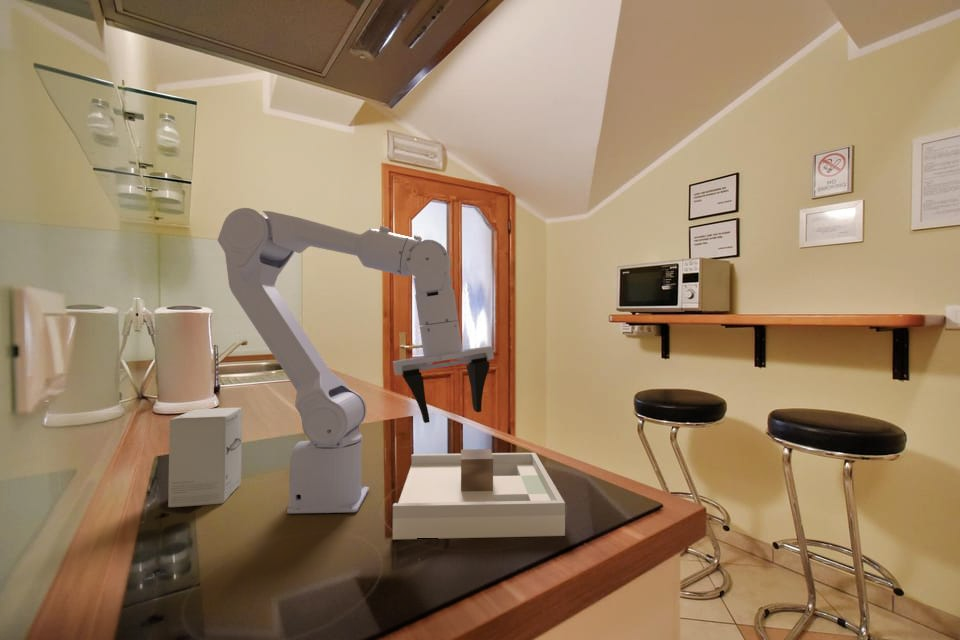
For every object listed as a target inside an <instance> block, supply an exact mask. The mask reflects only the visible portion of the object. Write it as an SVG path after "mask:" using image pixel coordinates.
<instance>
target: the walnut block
mask: <svg viewBox="0 0 960 640" xmlns="http://www.w3.org/2000/svg"><path fill="white" fill-rule="evenodd" d="M492 453H493V452H492V450H491V448H490V449H488V448H486V449H485V448H484V449H483V448H482V449H460V454H461V492H463V491H493V456H492Z"/></svg>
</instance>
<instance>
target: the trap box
mask: <svg viewBox="0 0 960 640" xmlns="http://www.w3.org/2000/svg"><path fill="white" fill-rule="evenodd" d="M492 456H493V491H463V492H461V453H418V454H417V453H413V454H411V465H410V468H409V470H408V474H407V476H406V480H405V483H404V485H403V488H402V490H401V493H400V497H399V499H398V502H395V503H393V504H392V540H418V539H417V538H438V539H471V538H472V539H473V538H478V539H479V538H484V539H485V538H517V537H518V538H520V537H525V538H526V537H563V536H564V537H565V536H566V502H565V500H564V499H563V497H562V496H561V494H560V492H559V490H558V488H557V487H556V485H555V483H554V482H553V480H552V478H551V477H550V475H549V474H548V471H547V470H546V468H545V467H544V465H543V463H542V462H541V460H540V458H539V456H538V455H537V453H536V452H492Z"/></svg>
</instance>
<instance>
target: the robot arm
mask: <svg viewBox="0 0 960 640" xmlns="http://www.w3.org/2000/svg"><path fill="white" fill-rule="evenodd" d="M262 212H263V213H264V214H265V215H263V214H262V213H261V212H259V211H258V210H256V209H253V208H251V207H241V208H237V209H234V210H233V211H232V212H230V213H229V214H228V215H227V216H226V217H225V220H224V221H223V224H222V227H221V229H220V232H219V235H218V237H217V242H218V243H219V246H220V247H221V249H222V250H223V252H224V255H225V263H226V270H227V271H226V272H227V277H228V278H227V279H228V286H229V289H230V291H231V293H232V295H233V296H234V298H235V299H236V301H237V302H238V304H239V305H240V307H241V308H242V310H243V312H244V313H245V314H246V316H247V317H248V319H249V320H250V322H251V323H252V325H253V326H254V328H255V329H256V331H257V333H258V334H259V335H260V337H261V338H262V340H263V341H264V343H265V345H266V346H267V348H268V350H269V351H270V352H271V354H272V356H273V357H274V358H275V360H276V362H277V363H278V365H279V366H280V367H281V369H282V371H283V372H284V374H285V375H286V376H287V378H288V380H289V381H290V382H291V384H292V386H293V387H294V389H295V390H296V395H295V403H294V406H295V409H296V411H297V412H298V413H299V416H300V418H301V419H300V420H301V424H302V426H301V427H302V431H303V433H304V435H305V436H306V438H307V439H308V440H302V441H301V440H300V441H298V442H297V443H296V444H295V446H294V447H293V449H292V450H291V451H292V452H291V455H290V460H289V479H288V482H289V485H288V486H289V491H288V493H289V495H288V497H289V500H288V501H289V503H288V508H287V509H286V513H287V514H329V513H330V514H331V513H335V514H337V513H339V514H340V513H357V512H358V510H359V509H360V507H361V506H362V503H363V502H364V500H365V498H366V496H367V495H368V492H369V490H370V487H369V486H363V485H362V481H363V480H362V478H363V477H362V476H363V475H362V473H363V472H362V470H363V469H362V467H363V465H362V464H363V463H362V461H363V459H362V457H363V456H362V455H363V452H362V451H363V442H362V441H363V436H362V432H361V431H360V426H361V424H362V423H363V422H364V421H365V418H366V415H367V404H366V402H365V399H364V398H363V397H362V396H361V394H359V393H358V392H357V391H354V390H353V389H351V388H350V387H349V386H348V385H347V384H346V382H345V381H344V380H343V379H342V378H341V377H340V376H338V375H336V374H335V373H333V372H332V371H331V369H330V368H329V367H328V364H326V362H325V360H324V359H323V358H322V356H321V355H320V353H319V352H318V350H317V348H316V347H315V345H314V343H312V341H311V339H310V338H309V336H308V335H307V333H306V331H305V330H304V329H303V327H302V326H301V325H300V323H299V322H298V319H297V318H296V317H295V315H294V314H293V312H292V311H291V309H290V307H289V306H288V304H287V303H286V302H285V300H284V299H283V297H282V295H281V294H280V292H279V291H278V289H277V288H276V282H277V278H278V276H279V275H280V274H281V273H282V271H283V269H284V268H285V267H286V265H287V264H288V263H289V262H290V259H291V258H292V257H293V255H294V254H295V253H298V254H302V253H303V252H304V251H306V250H307V249H308V248H310V247H313V248H317V249H321V250H326V251H327V250H328V251H332V252H338V253H341V254H346V255H347V254H348V255H352V256H356V257H357V258H358V260H359V261H360V263H361V264H362V266H364V268H368V269H372V270H373V269H374V270H377V271H382V272H386V273H390V274H392V275H393V274H394V275H399V276H401V277H408V276H411V275H412V276H414V278H413V281H414V282H413V283H414V288H415V296H414V297H415V304H416V310H417V316H418V324H419V325H418V326H419V332H420V339H421V345H422V353H423V355H421V356H417V357H410V358H406V359H405V358H404V359H399V360H393V361H392V363H393V366H392V367H393V372H394V373H393V374H394V375H395V376H400V375H402V376H401V377H402V378H403V379H404V381H405V383H406V384H407V386H408V387H409V390H410V391H411V393H412V395H413V396H414V399H415V401H416V402H417V406H418V409H419V411H420V413H421V416H422V421H423V423H424V424H427V423H430V414H429V409H428V405H427V400H426V394H425V385H424V383H425V382H424V376H423V375H422V372H421V371H427V370H433V369H438V368H439V369H440V368H445V367H450V366H456V365H462V364H465V365H466V370H467V375H468V379H469V384H470V391H471V392H470V393H471V401H472V402H471V403H472V408H473V411H474V412H476V413H481V412H482V406H483V405H482V401H483V393H484V388H485V382H486V380H487V376H488V373H489V370H490V365H491V364H490V360H494V359H495V356H494V349H493V346H492V345H486V346H482V347H481V346H479V347H474V348H473V347H472V348H465V349H463V344H462V337H461V331H460V322H459V317H458V310H457V309H458V308H457V301H456V296H455V295H456V294H455V290H454V289H453V279H452V276H451V274H450V271H451V268H452V261H451V258H450V256H449V254H448V252H447V250H446V248H445V247H444V245H443V244H441V243H440V242H438V241H436V240H433V239H423V238H422V237H421V236H420V235H416V234H415V235H413V237H410V236H407V235H406V236H405V235H402V234H398V233H393V232H391V229H390V228H389V227H387V226H383V225H381V226H380V227H379V229H377V228H370V229H368V230H366V231H365V232H363V233H357V232H356V233H355V232H352V231H349V230H345V229H341V228H339V227H334V226H331V225H327V224H324V223H320V222H317V221H313V220H309V219H305V218H302V217H297V216H293V215H289V214H285V213H281V212H280V213H279V212H276V211H275V212H274V211H268V210H262ZM422 239H423V240H422ZM454 359H455V361H454ZM448 360H449V361H448ZM450 360H453V361H450ZM488 360H489V361H488ZM442 361H443V362H442ZM444 361H448V362H444ZM434 362H435V363H436V362H442V363H437V364H433V363H434Z"/></svg>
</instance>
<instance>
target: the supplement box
mask: <svg viewBox="0 0 960 640" xmlns="http://www.w3.org/2000/svg"><path fill="white" fill-rule="evenodd" d="M242 418H243V407H217V408H215V407H213V408H199V409H192V410H191V409H190V411H187V412H185V413H183V414H180V415H178V416H175V417H173V418H170V419H169V440H168V441H169V442H168V443H169V447H168V451H169V452H168V491H167V493H168V496H167V497H168V498H167V499H168V500H167V502H168V504H167V508H182V507H194V506H196V507H197V506H207V505H220V504H224V503H225V502H226V500H227V499H228V498H229V497H230V496H231V495H232V493H234V491H235V490H237V488H239V487H240V486H241V484H242V450H243V449H242V446H243V445H242V444H243V443H242V440H243V439H242V438H243V437H242V436H243V435H242V434H243V433H242V431H243V430H242V429H243V428H242V427H243V426H242V425H243V419H242Z"/></svg>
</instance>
